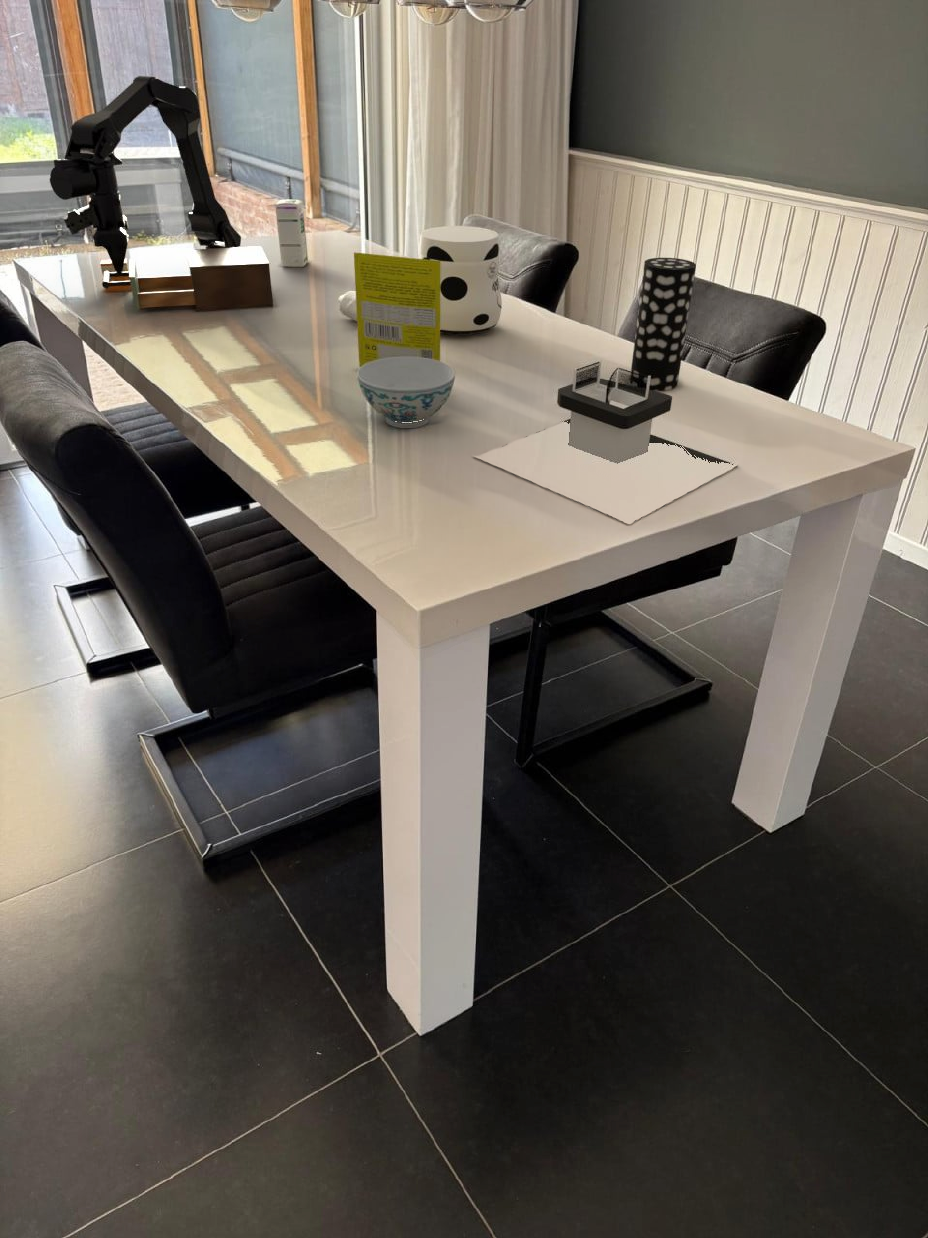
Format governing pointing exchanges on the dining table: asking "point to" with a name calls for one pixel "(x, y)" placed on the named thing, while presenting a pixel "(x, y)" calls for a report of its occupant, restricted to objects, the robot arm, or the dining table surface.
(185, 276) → the drawer
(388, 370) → the chinaware
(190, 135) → the robot arm
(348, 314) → the roll
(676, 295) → the white-spotted black cylinder
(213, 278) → the organizer
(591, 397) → the black-topped pedestal
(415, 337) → the food package
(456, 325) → the milk container
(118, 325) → the dining table surface
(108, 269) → the snack box
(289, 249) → the syrup box
